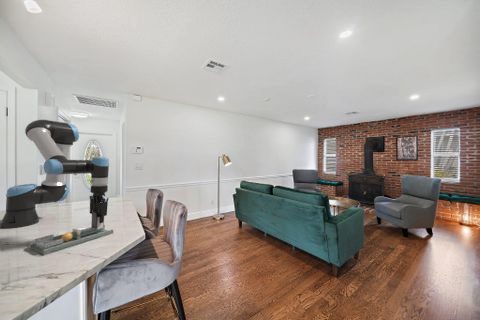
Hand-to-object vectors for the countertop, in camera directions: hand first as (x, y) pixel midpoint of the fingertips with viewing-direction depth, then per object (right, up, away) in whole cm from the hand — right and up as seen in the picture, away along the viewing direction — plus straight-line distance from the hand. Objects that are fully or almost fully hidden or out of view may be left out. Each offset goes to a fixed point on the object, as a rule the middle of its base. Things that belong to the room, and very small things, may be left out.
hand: (97, 227), depth 103 cm
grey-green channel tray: (-4, -3, -9) cm, 10 cm away
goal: (-8, -3, -18) cm, 20 cm away
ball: (-6, 0, -12) cm, 13 cm away
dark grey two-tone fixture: (-2, -2, -3) cm, 4 cm away
